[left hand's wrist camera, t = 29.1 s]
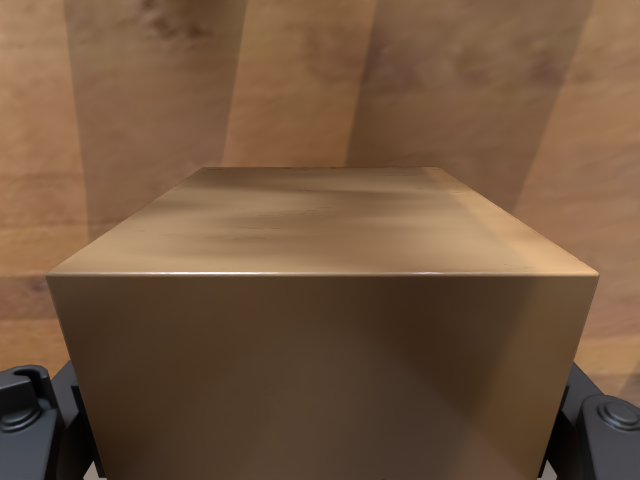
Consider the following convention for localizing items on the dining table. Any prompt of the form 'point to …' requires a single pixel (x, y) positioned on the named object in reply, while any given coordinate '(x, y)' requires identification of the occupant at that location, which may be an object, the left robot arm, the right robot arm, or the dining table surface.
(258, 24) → the dining table surface
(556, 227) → the dining table surface
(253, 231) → the brown wooden cube
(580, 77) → the dining table surface
